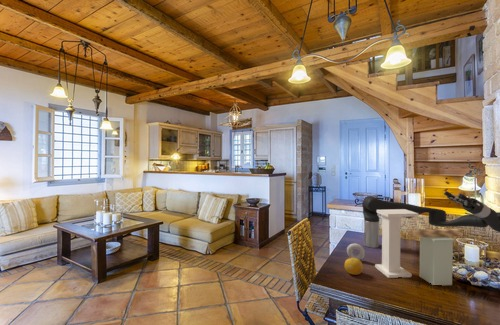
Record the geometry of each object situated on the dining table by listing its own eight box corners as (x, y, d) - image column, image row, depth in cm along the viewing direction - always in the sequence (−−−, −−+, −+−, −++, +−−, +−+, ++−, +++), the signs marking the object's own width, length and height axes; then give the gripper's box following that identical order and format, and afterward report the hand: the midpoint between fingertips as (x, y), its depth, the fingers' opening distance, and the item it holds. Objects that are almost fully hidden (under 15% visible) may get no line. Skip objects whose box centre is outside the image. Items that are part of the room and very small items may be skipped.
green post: (436, 275, 125) (437, 232, 124) (454, 285, 115) (454, 239, 114) (417, 275, 124) (418, 233, 124) (433, 286, 114) (434, 239, 114)
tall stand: (403, 266, 135) (403, 208, 134) (419, 276, 123) (420, 213, 122) (375, 267, 134) (375, 209, 133) (388, 277, 122) (389, 214, 121)
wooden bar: (457, 234, 121) (457, 228, 121) (462, 236, 118) (462, 230, 118) (410, 235, 120) (410, 229, 119) (414, 237, 117) (414, 231, 117)
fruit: (344, 275, 125) (344, 260, 125) (344, 268, 132) (344, 254, 132) (363, 278, 122) (363, 262, 122) (362, 271, 129) (362, 256, 129)
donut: (346, 259, 144) (346, 243, 144) (347, 257, 147) (347, 241, 147) (365, 263, 139) (365, 245, 139) (365, 260, 142) (365, 243, 142)
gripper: (467, 199, 139) (443, 185, 138) (493, 204, 124) (467, 189, 123) (461, 211, 139) (437, 197, 138) (486, 217, 124) (460, 202, 123)
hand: (451, 193), depth 131 cm, fingers open, 8 cm apart
